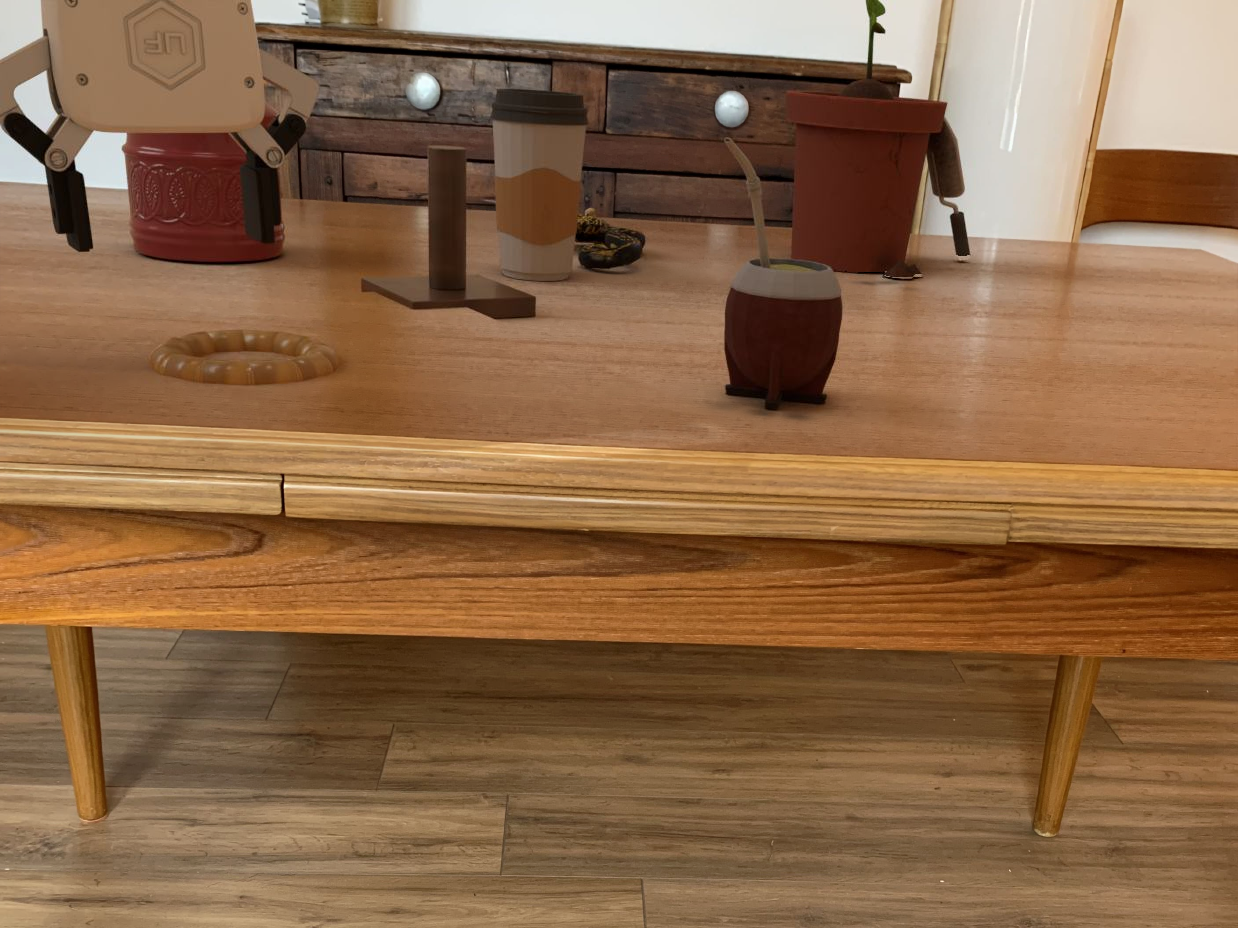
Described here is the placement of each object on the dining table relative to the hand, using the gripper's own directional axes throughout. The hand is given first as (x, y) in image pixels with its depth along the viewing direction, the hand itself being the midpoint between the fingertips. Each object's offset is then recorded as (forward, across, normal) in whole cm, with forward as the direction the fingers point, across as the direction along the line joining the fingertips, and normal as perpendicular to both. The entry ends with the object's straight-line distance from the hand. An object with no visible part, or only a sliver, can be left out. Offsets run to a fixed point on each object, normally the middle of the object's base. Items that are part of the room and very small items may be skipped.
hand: (173, 244), depth 74 cm
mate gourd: (+9, +31, -14) cm, 35 cm away
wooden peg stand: (+8, +24, +18) cm, 31 cm away
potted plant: (+10, +77, +29) cm, 83 cm away
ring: (+7, +3, 0) cm, 8 cm away
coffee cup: (+9, +38, +30) cm, 50 cm away
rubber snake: (+9, +49, +38) cm, 63 cm away
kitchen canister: (+8, +14, +46) cm, 49 cm away
